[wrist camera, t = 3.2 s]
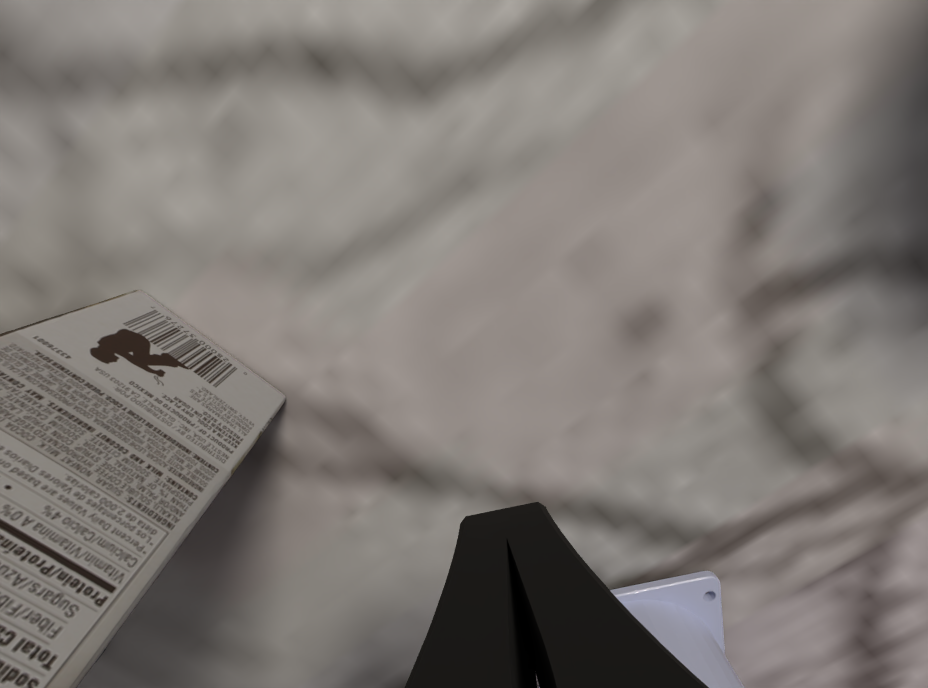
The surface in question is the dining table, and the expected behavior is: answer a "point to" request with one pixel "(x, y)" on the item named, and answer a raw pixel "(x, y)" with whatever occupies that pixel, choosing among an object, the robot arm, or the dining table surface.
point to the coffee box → (106, 471)
